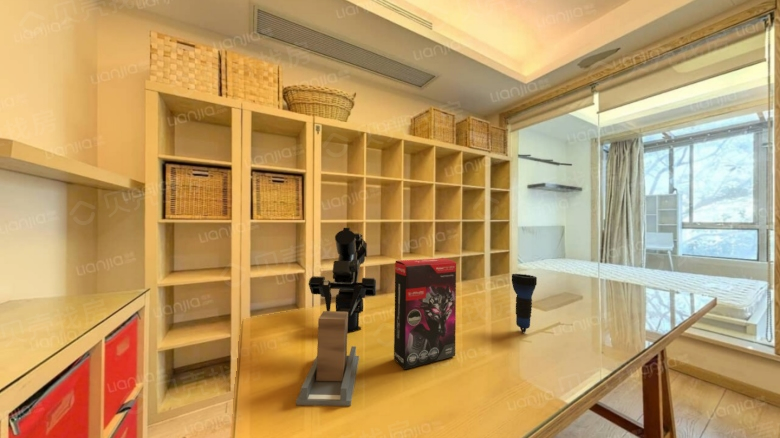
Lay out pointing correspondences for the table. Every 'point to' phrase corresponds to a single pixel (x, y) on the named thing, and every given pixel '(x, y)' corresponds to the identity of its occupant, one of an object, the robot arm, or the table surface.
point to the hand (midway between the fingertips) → (339, 314)
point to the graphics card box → (424, 311)
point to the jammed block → (332, 346)
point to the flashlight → (523, 298)
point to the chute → (330, 386)
